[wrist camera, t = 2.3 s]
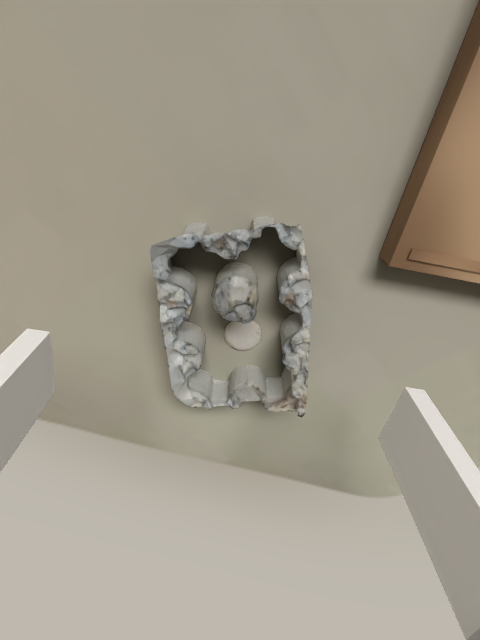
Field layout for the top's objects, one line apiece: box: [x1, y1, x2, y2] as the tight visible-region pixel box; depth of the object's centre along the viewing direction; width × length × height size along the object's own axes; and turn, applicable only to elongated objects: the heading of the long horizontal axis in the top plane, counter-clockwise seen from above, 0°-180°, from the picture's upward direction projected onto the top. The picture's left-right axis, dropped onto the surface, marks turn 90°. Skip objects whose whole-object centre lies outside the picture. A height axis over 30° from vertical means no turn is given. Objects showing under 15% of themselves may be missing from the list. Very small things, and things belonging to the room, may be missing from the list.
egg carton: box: [150, 216, 312, 417], centre depth 19 cm, size 11×8×4 cm
